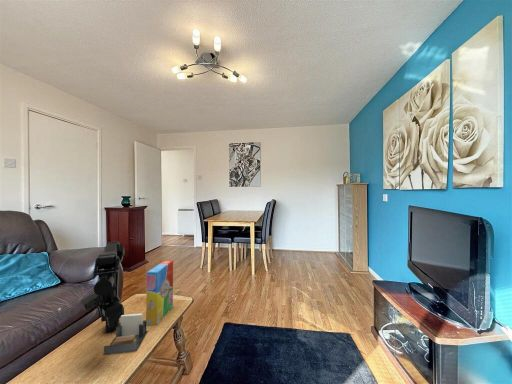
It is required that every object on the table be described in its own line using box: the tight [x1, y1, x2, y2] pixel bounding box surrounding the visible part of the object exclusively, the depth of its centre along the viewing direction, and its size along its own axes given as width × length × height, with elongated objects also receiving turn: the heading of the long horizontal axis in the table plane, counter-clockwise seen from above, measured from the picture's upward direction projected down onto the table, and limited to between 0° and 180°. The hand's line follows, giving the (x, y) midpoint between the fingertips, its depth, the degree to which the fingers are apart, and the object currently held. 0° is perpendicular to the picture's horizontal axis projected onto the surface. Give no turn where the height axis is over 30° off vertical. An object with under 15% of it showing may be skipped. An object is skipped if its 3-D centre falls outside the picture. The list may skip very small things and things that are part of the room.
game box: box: [145, 259, 174, 327], centre depth 121 cm, size 21×6×27 cm, turn 179°
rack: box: [102, 319, 149, 356], centre depth 98 cm, size 14×13×6 cm
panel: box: [120, 313, 144, 336], centre depth 103 cm, size 1×9×9 cm, turn 99°
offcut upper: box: [113, 335, 135, 345], centre depth 95 cm, size 3×7×2 cm, turn 104°
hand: (106, 322), depth 92 cm, fingers open, 9 cm apart
